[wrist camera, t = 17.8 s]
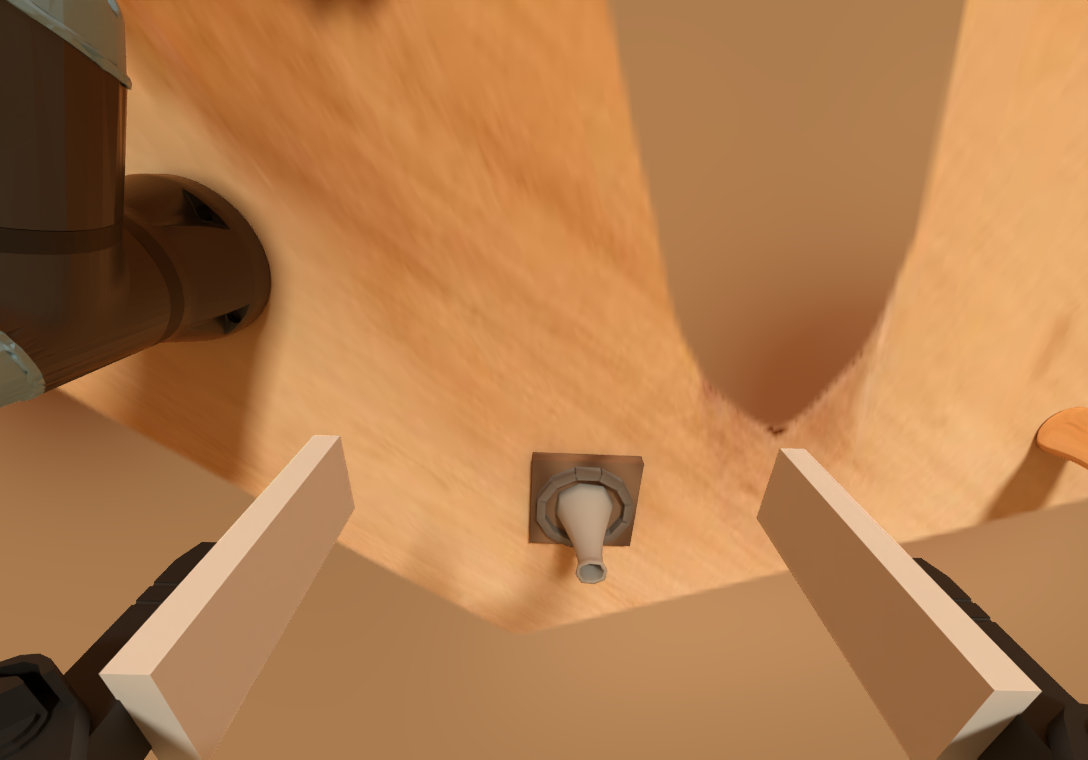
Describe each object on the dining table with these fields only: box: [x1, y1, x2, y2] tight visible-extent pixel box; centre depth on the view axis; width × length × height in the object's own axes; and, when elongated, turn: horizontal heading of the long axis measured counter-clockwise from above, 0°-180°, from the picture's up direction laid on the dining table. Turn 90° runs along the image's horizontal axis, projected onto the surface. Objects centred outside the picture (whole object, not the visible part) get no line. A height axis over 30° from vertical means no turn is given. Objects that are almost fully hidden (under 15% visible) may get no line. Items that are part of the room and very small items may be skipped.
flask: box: [555, 483, 613, 584], centre depth 47 cm, size 7×7×10 cm
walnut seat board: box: [530, 452, 644, 547], centre depth 52 cm, size 13×13×3 cm
